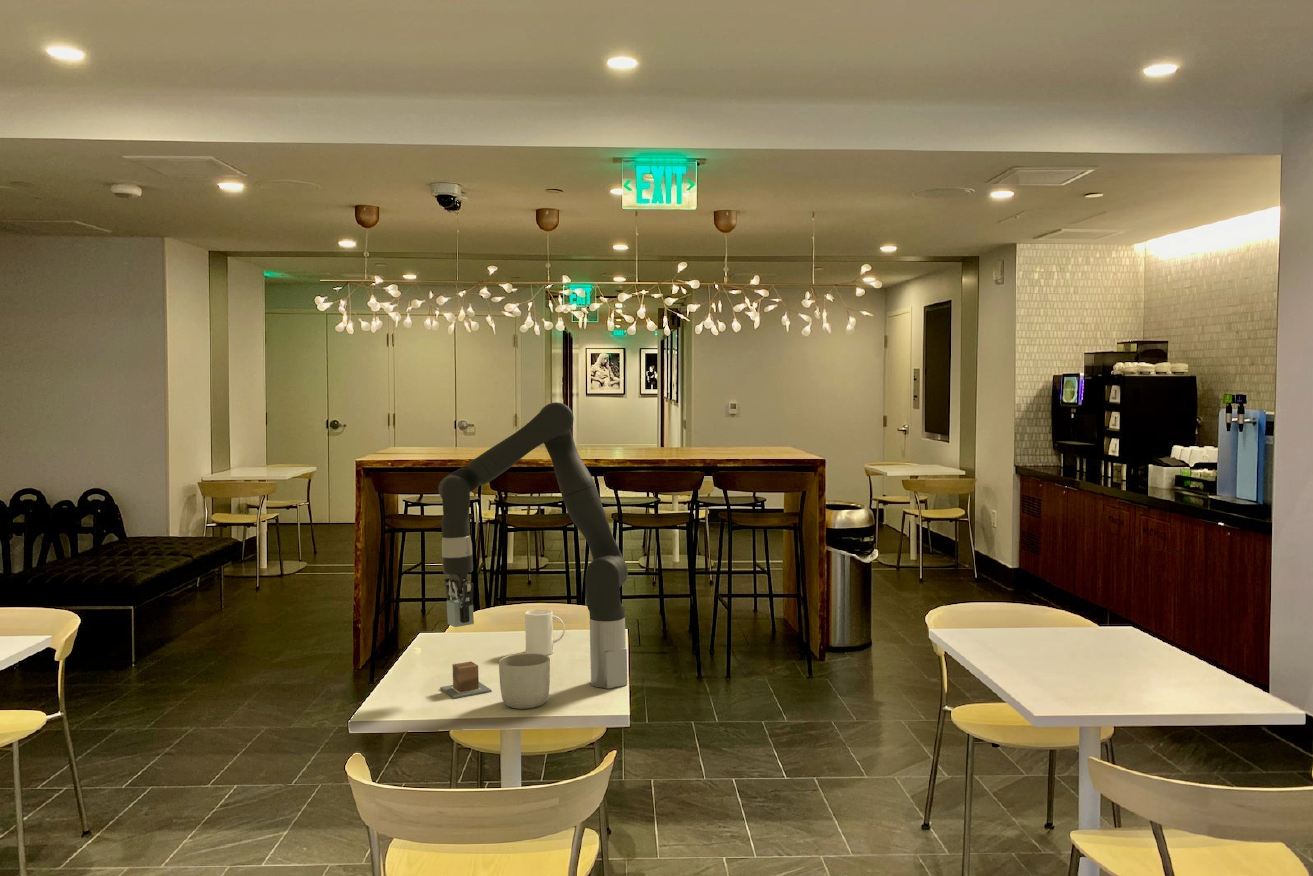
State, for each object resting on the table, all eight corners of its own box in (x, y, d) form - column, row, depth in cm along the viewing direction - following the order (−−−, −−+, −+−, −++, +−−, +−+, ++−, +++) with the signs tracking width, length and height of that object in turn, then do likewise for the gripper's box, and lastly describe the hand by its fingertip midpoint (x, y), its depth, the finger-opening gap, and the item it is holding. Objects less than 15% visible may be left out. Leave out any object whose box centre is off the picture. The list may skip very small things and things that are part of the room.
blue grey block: (473, 624, 241) (472, 600, 240) (455, 627, 238) (453, 603, 238) (466, 620, 245) (465, 597, 245) (447, 624, 242) (446, 600, 242)
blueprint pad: (491, 691, 242) (491, 689, 242) (454, 698, 236) (453, 696, 236) (476, 682, 250) (476, 680, 250) (440, 689, 245) (440, 686, 245)
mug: (567, 648, 283) (566, 608, 283) (562, 656, 275) (561, 615, 274) (528, 648, 284) (527, 609, 284) (522, 656, 276) (521, 615, 275)
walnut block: (478, 688, 242) (478, 665, 242) (460, 692, 240) (459, 668, 240) (471, 684, 247) (470, 661, 246) (453, 687, 244) (452, 664, 244)
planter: (489, 704, 232) (488, 660, 231) (530, 693, 240) (529, 650, 240) (519, 715, 223) (518, 669, 222) (561, 703, 231) (560, 659, 231)
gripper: (482, 555, 237) (485, 622, 237) (460, 549, 249) (463, 614, 249) (453, 558, 233) (457, 627, 233) (432, 553, 245) (436, 618, 245)
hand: (460, 620), depth 241 cm, fingers closed on blue grey block, 5 cm apart
